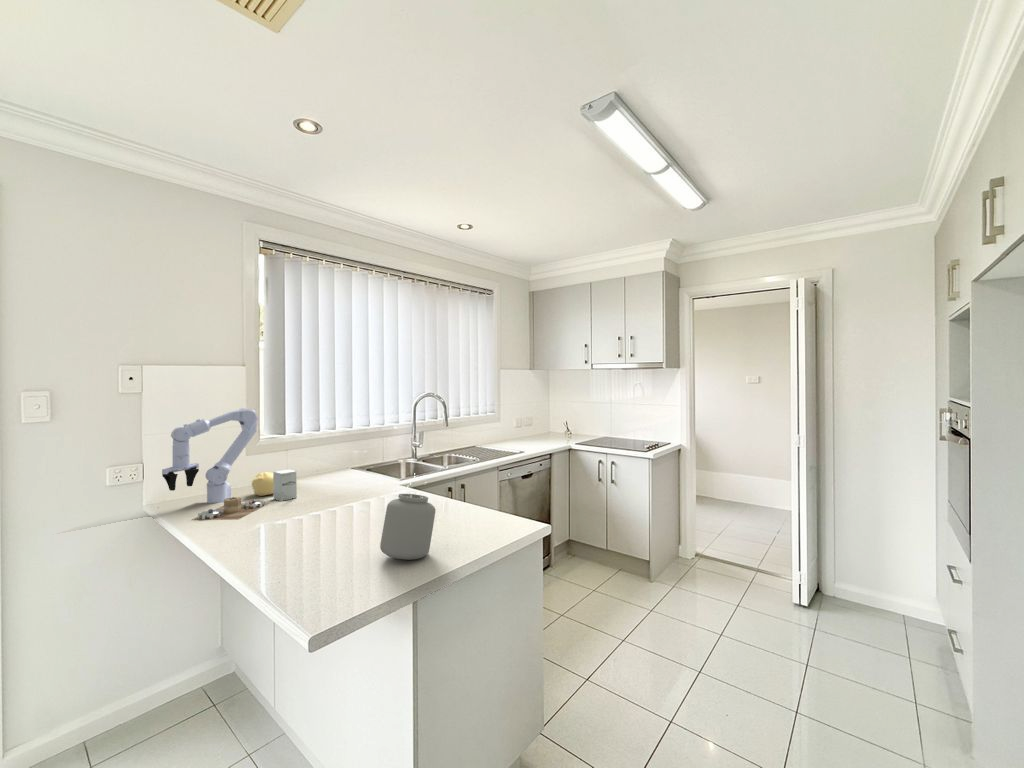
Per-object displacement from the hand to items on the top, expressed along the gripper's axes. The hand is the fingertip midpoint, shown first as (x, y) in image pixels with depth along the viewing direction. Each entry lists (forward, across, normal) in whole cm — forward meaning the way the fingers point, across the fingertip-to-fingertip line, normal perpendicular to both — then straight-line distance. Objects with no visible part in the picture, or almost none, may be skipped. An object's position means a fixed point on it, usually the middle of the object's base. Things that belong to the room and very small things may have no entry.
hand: (181, 488), depth 185 cm
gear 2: (+8, +7, -30) cm, 31 cm away
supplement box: (+9, +25, -30) cm, 40 cm away
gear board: (+9, 0, -27) cm, 28 cm away
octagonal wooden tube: (+8, 0, -27) cm, 28 cm away
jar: (+9, -24, -117) cm, 120 cm away
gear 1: (+8, -8, -24) cm, 26 cm away
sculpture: (+9, +30, -15) cm, 35 cm away
